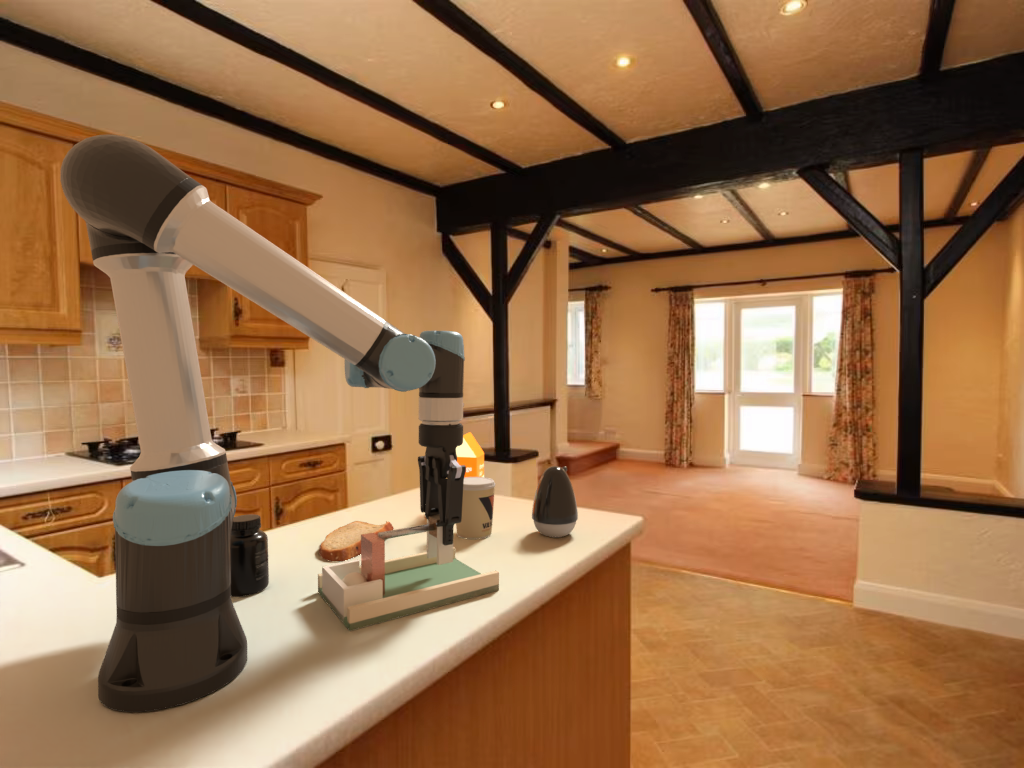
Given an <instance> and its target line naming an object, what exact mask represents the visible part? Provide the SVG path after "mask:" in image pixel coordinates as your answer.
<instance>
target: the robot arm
mask: <svg viewBox="0 0 1024 768" xmlns="http://www.w3.org/2000/svg"><path fill="white" fill-rule="evenodd" d="M59 179H60V180H59V181H60V183H61V184H60V185H61V189H62V192H63V194H64V196H65V198H66V201H67V202H68V204H69V205H70V207H71V208H72V209H73V211H74V212H75V213H76V214H77V215H78V216H79V217H80V218H81V219H82V220H84V222H85V225H86V230H87V237H88V241H89V247H90V252H91V257H92V263H93V266H95V268H97V269H99V271H101V272H103V273H104V274H106V275H107V276H108V277H109V278H110V280H109V281H110V284H111V289H112V296H113V300H114V301H113V302H114V306H115V313H116V319H117V323H118V330H119V334H120V341H121V347H122V352H123V359H124V365H125V371H126V375H127V381H128V386H129V391H130V398H131V403H132V408H133V413H134V419H135V426H136V430H137V431H136V432H137V437H138V442H139V443H138V444H139V448H140V454H139V457H138V458H136V460H135V461H134V462H133V463H132V464H131V465H130V467H129V471H130V475H131V481H130V482H129V483H127V484H126V485H125V486H123V487H122V488H121V489H120V490H119V491H118V493H117V496H116V498H115V507H114V508H115V509H114V511H113V512H112V522H113V528H114V543H115V544H114V546H115V547H114V548H115V549H114V550H115V555H114V556H115V593H116V594H115V598H116V599H115V601H116V602H115V603H116V622H115V626H114V629H113V631H112V635H111V636H110V637H111V638H110V639H109V643H108V645H107V648H106V651H105V653H104V656H103V660H102V663H101V666H100V669H99V671H98V677H97V691H98V692H97V695H98V696H97V697H98V699H99V702H100V703H101V704H102V705H103V706H105V707H106V708H108V709H111V710H115V711H119V712H127V713H131V712H133V713H140V712H142V713H143V712H152V711H153V712H154V711H158V710H164V709H168V708H173V707H177V706H181V705H183V704H186V703H189V702H192V701H196V700H199V699H200V698H202V697H205V696H207V695H210V694H212V693H214V692H215V691H218V690H219V689H221V688H223V687H225V686H226V685H227V684H229V683H230V682H231V681H233V680H234V679H235V678H236V677H237V676H239V675H240V674H241V672H242V671H243V670H244V668H245V667H246V665H247V663H248V662H247V661H248V639H247V636H246V633H245V631H244V629H243V625H242V624H241V621H240V618H239V616H238V614H237V611H236V608H235V606H234V603H233V601H232V596H231V529H232V522H233V518H234V517H235V515H236V511H237V510H236V508H237V503H238V499H237V492H236V489H235V486H234V485H233V482H232V480H231V476H230V469H229V464H228V458H227V457H228V456H227V451H226V449H225V448H224V447H222V446H220V445H218V444H217V443H215V442H214V441H213V439H212V434H211V427H210V422H209V416H208V410H207V404H206V403H207V402H206V397H205V390H204V386H203V385H204V384H203V379H202V373H201V366H200V361H199V356H198V350H197V343H196V338H195V337H196V336H195V330H194V324H193V318H192V312H191V306H190V302H189V295H188V289H187V282H186V278H185V277H186V276H185V275H186V273H188V271H189V270H190V268H192V267H193V266H195V267H196V268H198V269H199V270H201V271H202V272H204V273H206V274H208V275H209V276H211V277H212V278H214V279H215V280H217V281H219V282H221V283H222V284H224V285H225V286H227V287H229V288H230V289H231V290H234V291H235V292H236V293H238V294H239V295H241V296H243V298H246V299H248V300H249V301H251V302H253V303H254V304H256V305H257V306H259V307H261V309H263V310H265V311H267V312H268V313H270V314H272V315H274V316H275V317H277V319H280V320H281V321H283V322H285V323H287V324H288V325H289V326H291V327H293V328H294V329H296V330H297V331H299V332H301V333H302V334H304V335H306V336H307V337H309V338H310V339H312V340H314V341H315V342H317V343H319V344H320V345H321V346H323V347H324V348H327V350H329V351H331V352H333V353H335V354H336V355H338V357H339V356H340V357H341V358H343V359H344V378H345V382H346V383H347V385H348V386H349V387H352V388H364V389H370V388H378V389H379V388H383V389H390V390H393V391H396V392H397V391H398V392H403V393H405V392H409V391H410V392H411V391H414V390H417V389H418V420H419V421H420V422H421V423H420V424H419V425H418V444H419V445H420V446H421V447H425V453H424V455H420V456H417V464H418V469H419V470H418V471H419V497H420V499H419V501H420V504H419V505H420V506H419V509H420V512H421V513H423V514H424V516H425V519H427V520H426V524H429V516H432V515H438V514H439V517H440V522H439V523H436V526H437V538H436V537H434V536H432V535H431V534H429V531H428V532H426V552H427V558H434V557H437V564H438V565H441V564H446V563H450V562H453V547H454V528H455V527H454V526H455V525H456V523H461V520H462V502H463V483H464V476H465V473H466V466H465V465H459V464H458V462H457V454H456V447H457V446H460V445H462V444H463V435H464V425H463V424H462V423H460V422H462V420H464V407H465V403H464V377H465V376H464V375H465V374H464V373H465V359H466V358H465V344H464V338H463V335H462V334H461V333H459V332H458V331H452V330H451V331H450V330H423V331H422V332H420V333H419V336H417V335H413V334H411V333H408V334H407V333H405V332H403V331H402V330H400V329H399V328H398V327H396V326H395V325H393V324H391V323H390V322H388V321H386V319H384V318H383V317H381V316H380V315H379V314H377V313H375V312H374V311H373V310H372V309H369V308H368V307H367V306H365V305H364V304H362V303H360V302H359V301H358V300H356V299H354V298H353V297H352V296H350V295H349V294H347V293H346V292H345V291H343V290H342V289H340V288H338V287H337V286H336V285H334V284H333V283H332V282H330V281H329V280H327V279H326V278H324V277H323V276H321V275H319V274H318V273H317V272H315V271H314V270H312V269H311V268H310V267H308V266H306V265H305V264H304V263H303V262H301V261H299V260H298V259H296V258H295V257H293V256H292V255H291V254H289V253H287V252H286V251H284V250H283V249H282V248H280V247H278V245H276V244H274V243H272V242H271V241H270V240H268V239H267V238H265V237H264V236H263V235H261V234H259V233H258V232H256V231H255V230H254V229H252V228H251V227H249V226H248V225H246V224H245V223H244V222H242V221H241V220H239V219H237V217H234V216H233V215H232V214H230V213H229V212H228V211H226V210H224V209H223V208H221V207H220V206H218V205H217V204H216V203H214V202H212V201H211V200H210V196H209V192H208V189H207V187H205V186H204V185H203V184H202V183H200V182H198V181H197V180H196V179H194V178H193V177H191V176H190V175H188V174H187V173H185V171H183V170H182V169H180V168H179V167H178V166H177V165H175V164H174V163H172V162H171V161H170V160H169V159H167V158H166V157H164V156H163V155H161V153H158V152H157V151H156V150H154V149H153V148H152V147H150V146H148V145H147V144H145V143H143V142H141V141H139V140H137V139H134V138H132V137H128V136H126V135H118V134H99V135H93V136H90V137H86V138H85V139H82V140H81V141H78V142H77V143H76V144H74V145H73V146H72V147H71V148H70V149H69V150H68V151H67V153H66V154H65V156H64V158H63V159H62V162H61V166H60V177H59Z"/></svg>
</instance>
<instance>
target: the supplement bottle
mask: <svg viewBox="0 0 1024 768" xmlns="http://www.w3.org/2000/svg"><path fill="white" fill-rule="evenodd" d="M261 519H262V518H261V515H259V514H252V513H251V514H241V515H237V516H234V518H233V522H232V529H231V597H232V598H233V597H235V598H237V597H240V598H242V597H248V596H252V595H255V594H258V593H261V592H262V591H264V590H266V589H267V587H268V586H269V583H270V581H269V580H270V577H269V576H270V574H269V573H270V572H269V570H270V569H269V548H268V547H269V543H268V540H269V539H268V535H267V534H266V532H265V531H263V530H261V528H262V523H261Z"/></svg>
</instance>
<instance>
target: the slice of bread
mask: <svg viewBox="0 0 1024 768" xmlns="http://www.w3.org/2000/svg"><path fill="white" fill-rule="evenodd" d="M391 530H395V528H394V526H393V524H392V523H391V522H390V521H387V520H386V521H385V523H383V524H379V525H378V524H372V523H369V522H365V521H361V520H360V521H359V520H354V521H352V522H349V523H347V524H344V525H343V526H339V527H338V528H336V529H334V530H333V531H331V532H329V533H328V534H326V536H325V539H324V540H323V541H322V542H321V543H320V545H319V550H318V554H319V557H320V558H322V559H323V560H325V561H327V560H329V562H332V561H341V562H346V561H345V560H347V561H349V560H348V559H350V560H351V558H352V559H354V558H356V557H359V556H361V555H360V554H361V535H362V534H368V533H374V534H376V535H377V534H378V533H379V532H385V531H391ZM384 540H385V541H386V539H384ZM358 555H359V556H358ZM353 557H354V558H353Z"/></svg>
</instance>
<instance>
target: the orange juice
mask: <svg viewBox="0 0 1024 768" xmlns="http://www.w3.org/2000/svg"><path fill="white" fill-rule="evenodd" d="M456 454H457V462H458V464H459V465H465V466H466V473H465V476H464V477H485V452H484V450H483V449H482V447H481V446H480V444H479V443H478V441H477V440H476V438H475V436H474V435H473V434H472V432H471V431H470V432H467V433H465V434H463V444H462V445H460V446H457V447H456Z"/></svg>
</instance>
